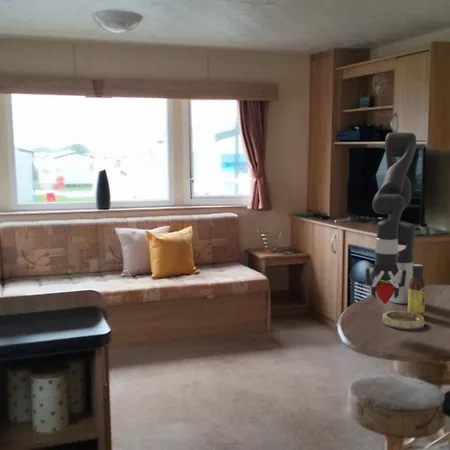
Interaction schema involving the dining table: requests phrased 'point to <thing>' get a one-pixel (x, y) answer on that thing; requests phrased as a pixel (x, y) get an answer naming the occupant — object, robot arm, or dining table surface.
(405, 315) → the tan rimmed round bowl
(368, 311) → the dining table surface
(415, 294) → the sauce bottle
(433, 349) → the dining table surface
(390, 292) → the strawberry
